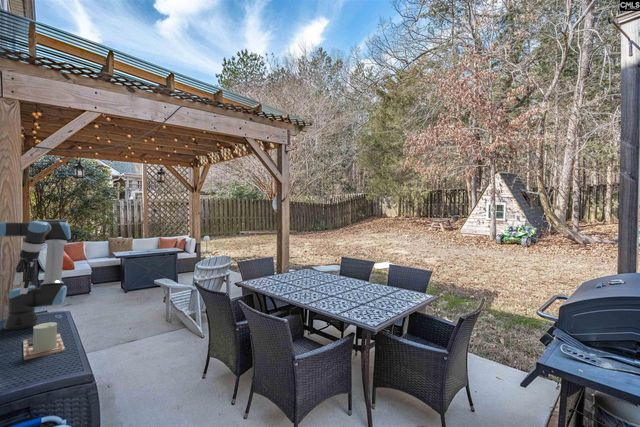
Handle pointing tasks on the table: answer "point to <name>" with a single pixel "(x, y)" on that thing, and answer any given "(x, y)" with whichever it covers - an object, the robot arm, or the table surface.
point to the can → (44, 337)
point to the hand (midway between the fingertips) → (19, 288)
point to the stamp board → (30, 354)
